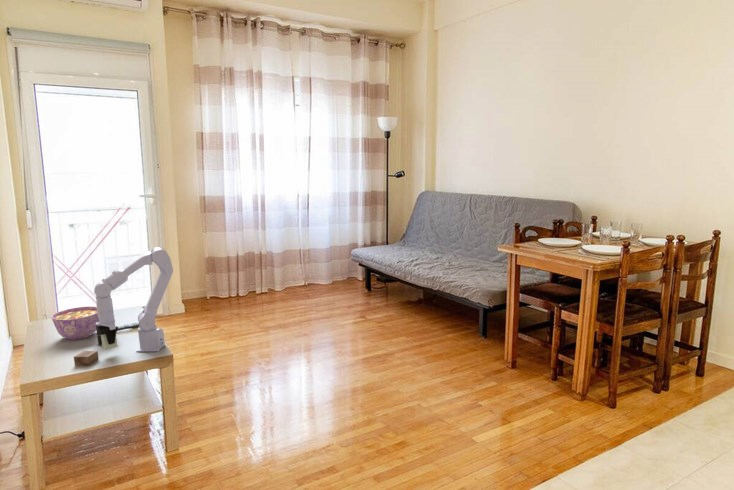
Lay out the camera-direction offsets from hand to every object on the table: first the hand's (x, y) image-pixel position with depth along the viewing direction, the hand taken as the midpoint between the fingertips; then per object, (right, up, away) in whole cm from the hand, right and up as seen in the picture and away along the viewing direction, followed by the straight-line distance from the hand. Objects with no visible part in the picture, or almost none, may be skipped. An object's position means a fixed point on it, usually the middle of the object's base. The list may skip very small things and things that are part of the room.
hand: (109, 342), depth 200 cm
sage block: (0, -2, 0) cm, 2 cm away
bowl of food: (-27, -2, +24) cm, 36 cm away
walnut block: (-6, -7, -6) cm, 11 cm away
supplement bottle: (-10, -4, +16) cm, 19 cm away
